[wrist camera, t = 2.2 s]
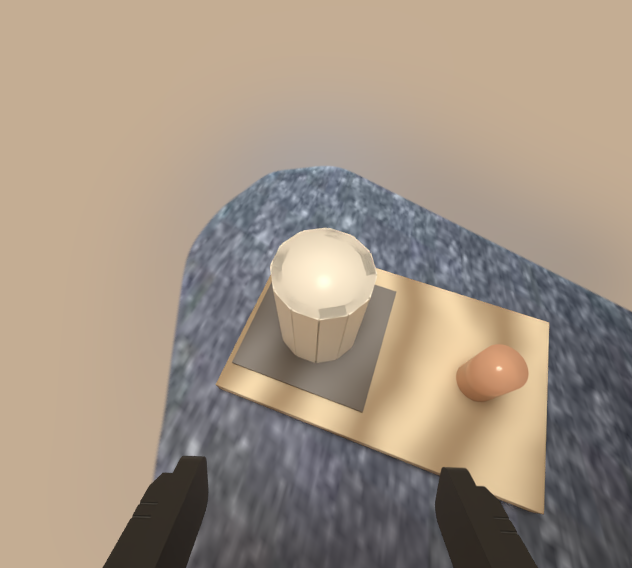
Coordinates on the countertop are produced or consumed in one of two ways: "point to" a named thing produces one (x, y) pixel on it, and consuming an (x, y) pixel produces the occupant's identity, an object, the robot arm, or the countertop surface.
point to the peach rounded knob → (492, 373)
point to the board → (411, 384)
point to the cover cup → (321, 292)
